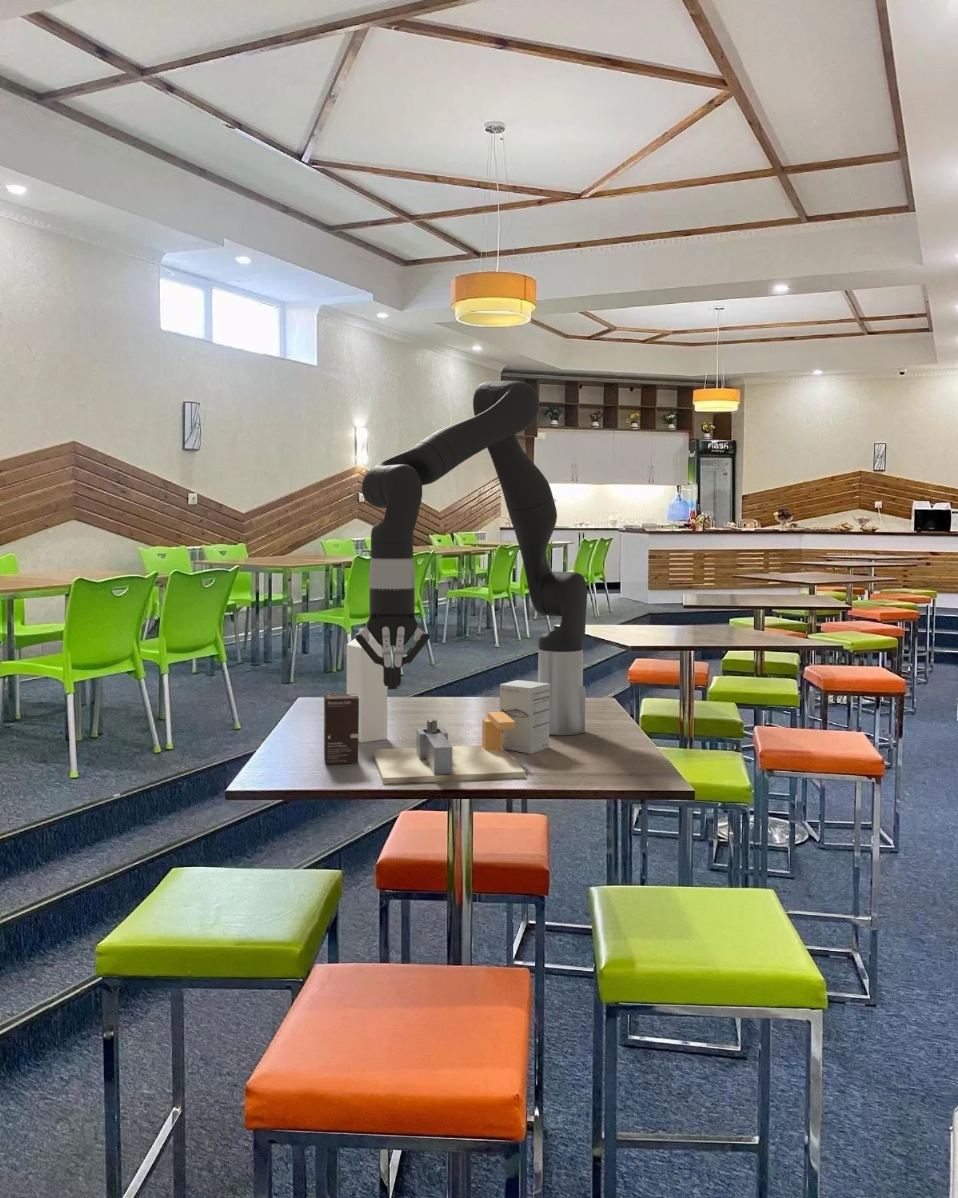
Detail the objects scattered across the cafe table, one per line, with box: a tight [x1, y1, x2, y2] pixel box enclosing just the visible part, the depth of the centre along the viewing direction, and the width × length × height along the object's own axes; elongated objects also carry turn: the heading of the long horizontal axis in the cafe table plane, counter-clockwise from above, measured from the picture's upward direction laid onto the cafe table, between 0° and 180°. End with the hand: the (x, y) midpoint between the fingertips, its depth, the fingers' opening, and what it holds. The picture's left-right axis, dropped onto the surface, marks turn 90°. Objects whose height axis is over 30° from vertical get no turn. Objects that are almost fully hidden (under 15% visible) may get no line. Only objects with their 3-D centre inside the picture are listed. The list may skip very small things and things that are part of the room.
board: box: [372, 744, 526, 785], centre depth 169 cm, size 24×21×1 cm
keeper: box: [481, 711, 515, 750], centre depth 175 cm, size 4×10×8 cm, turn 11°
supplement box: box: [498, 679, 550, 755], centre depth 182 cm, size 7×7×13 cm
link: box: [415, 727, 453, 775], centre depth 166 cm, size 16×5×4 cm, turn 11°
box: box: [323, 693, 359, 765], centre depth 171 cm, size 6×4×12 cm
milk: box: [346, 627, 388, 744], centre depth 190 cm, size 6×6×22 cm
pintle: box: [426, 719, 438, 733], centre depth 171 cm, size 4×4×8 cm
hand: (392, 688), depth 160 cm, fingers closed
